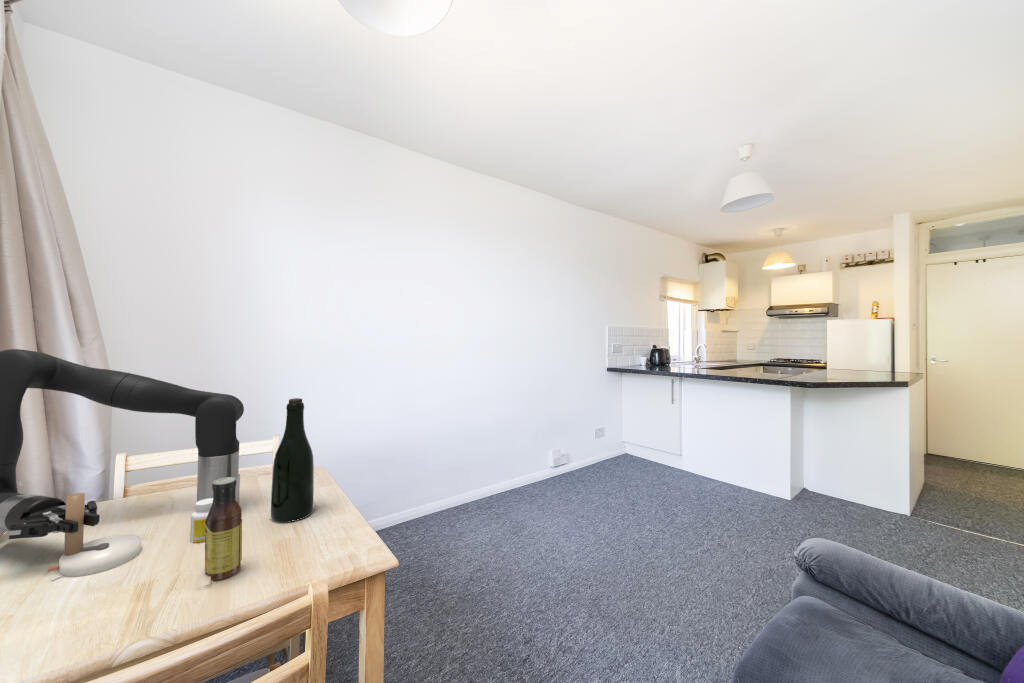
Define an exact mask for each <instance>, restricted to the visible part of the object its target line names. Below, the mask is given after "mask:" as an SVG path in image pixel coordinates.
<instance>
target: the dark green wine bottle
mask: <svg viewBox="0 0 1024 683" xmlns="http://www.w3.org/2000/svg"><path fill="white" fill-rule="evenodd" d="M285 407H286V420H285V426H284V433H283V435H282V437H281V440H280V442H279V445H278V448H277V450H276V452H275V454H274V458H273V462H272V464H273V465H272V477H271V478H272V480H271V494H270V495H271V496H270V519H271V520H273V521H274V522H278V523H289V522H288V521H291V522H293V521H292V520H296V521H298V520H297V519H299V520H301V519H300V518H302V519H304V518H306V517H308V516H310V515H311V514H312V512H313V511H314V485H315V484H314V483H315V482H314V480H315V479H314V478H315V475H314V472H315V471H314V468H315V466H314V454H313V449H312V447H311V445H310V442H309V439H308V437H307V434H306V430H305V429H306V428H305V421H304V419H305V418H304V415H305V413H304V412H305V411H304V410H305V405H304V402H303V398H299V397H298V398H297V397H296V398H295V397H294V398H289V399H288V403H287V404H286V406H285ZM307 515H308V516H307ZM305 516H306V517H305ZM303 517H304V518H303Z"/></svg>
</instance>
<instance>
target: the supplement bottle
mask: <svg viewBox="0 0 1024 683" xmlns="http://www.w3.org/2000/svg"><path fill="white" fill-rule="evenodd" d="M212 504H213V498H209V499H204V500H200V501H198V502H197V501H196V502H195V504H194V509H195V511H194V512H192V514H191V516H190V533H189V542H190V543H191V544H201V543H205V521H206V518H207V516H208V513H209V511H210V508H211V506H212Z"/></svg>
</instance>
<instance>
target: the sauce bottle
mask: <svg viewBox="0 0 1024 683" xmlns="http://www.w3.org/2000/svg"><path fill="white" fill-rule="evenodd" d="M235 486H236V478H234V477H226V478H221V479H218V480H215V481H214V482H213V484H212V489H213V504H212V506H211V508H210V511H209V513H208V516H207V518H206V521H205V542H204V571H205V575H207V576H209V577H210V580H212V581H216V580H217V581H218V580H224V579H226V578H230V577H232V575H234V574H236V573H237V572H239V571H240V569H241V564H242V560H243V519H242V517H243V516H242V511H243V509H242V507H241V505H240V502H239V503H238V502H237V501H236V500H235V497H236V496H235Z"/></svg>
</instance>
